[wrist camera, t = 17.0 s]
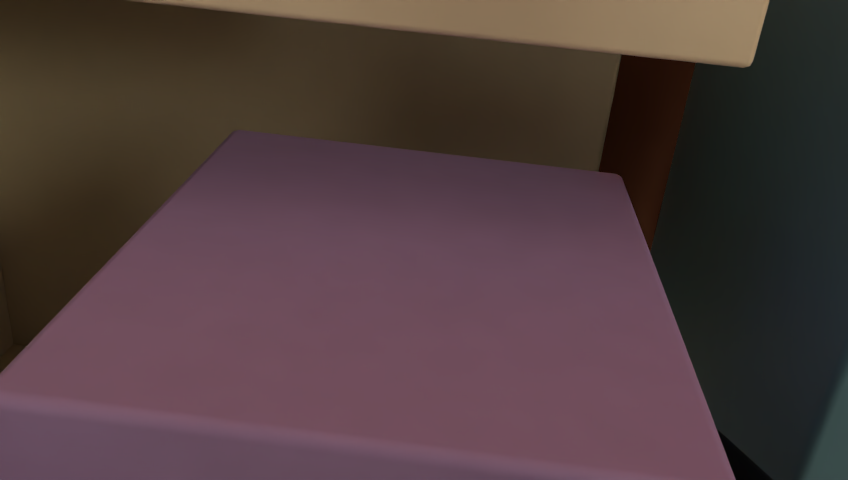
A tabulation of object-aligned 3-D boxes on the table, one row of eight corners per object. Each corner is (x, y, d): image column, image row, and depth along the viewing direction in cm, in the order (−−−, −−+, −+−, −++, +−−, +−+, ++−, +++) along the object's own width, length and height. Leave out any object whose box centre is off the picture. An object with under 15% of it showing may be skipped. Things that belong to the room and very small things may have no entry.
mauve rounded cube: (623, 171, 9) (750, 497, 4) (557, 476, 10) (599, 919, 6) (233, 125, 9) (-30, 394, 4) (236, 434, 11) (53, 837, 6)
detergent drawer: (1190, -95, 11) (2045, -30, 5) (918, 484, 16) (1187, 890, 9) (-78, -222, 12) (-709, -303, 6) (16, 370, 16) (-276, 681, 10)
